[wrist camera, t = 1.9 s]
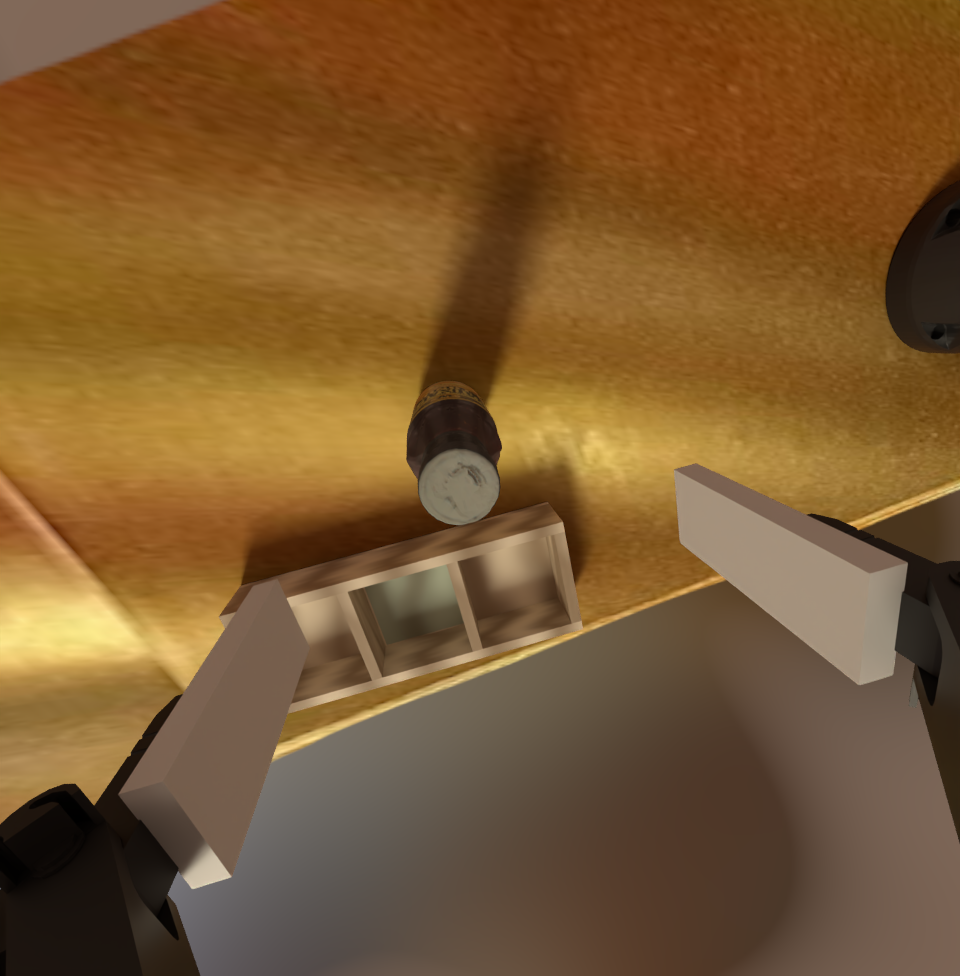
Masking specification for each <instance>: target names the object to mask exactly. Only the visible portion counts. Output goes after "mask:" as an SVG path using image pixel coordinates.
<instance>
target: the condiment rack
mask: <svg viewBox="0 0 960 976" xmlns="http://www.w3.org/2000/svg"><path fill="white" fill-rule="evenodd" d="M276 579H278V581H279V583H280V586H281V588H282V590H283V592H284V594H285V596H286V598H287V600H288V602H289V605H290V607H291V609H292V611H293V613H294V615H295V617H296V619H297V622H298V624H299V626H300V628H301V630H302V632H303V634H304V636H305V639H306V641H307V643H308V645H309V647H310V649H309V652H308V655H307V658H306V660H305V663H304V666H303V669H302V672H301V675H300V678H299V681H298V684H297V687H296V690H295V693H294V696H293V699H292V702H291V705H290V707H289V710H288V713H291V712H295V711H298V710H302V709H305V708H309V707H312V706H316V705H319V704H323V703H326V702H330V701H333V700H337V699H340V698H344V697H347V696H351V695H354V694H358V693H361V692H365V691H368V690H372V689H375V688H379V687H382V686H386V685H389V684H393V683H396V682H400V681H403V680H407V679H410V678H414V677H417V676H421V675H424V674H428V673H431V672H435V671H438V670H442V669H445V668H449V667H452V666H456V665H459V664H463V663H466V662H470V661H473V660H476V659H480V658H483V657H487V656H490V655H494V654H497V653H501V652H504V651H508V650H511V649H515V648H518V647H522V646H525V645H529V644H532V643H536V642H539V641H543V640H546V639H550V638H553V637H557V636H560V635H564V634H567V633H571V632H574V631H578V630H581V629H583V626H582V621H581V616H580V610H579V605H578V600H577V594H576V589H575V584H574V578H573V573H572V568H571V562H570V557H569V551H568V546H567V541H566V535H565V530H564V525H563V521H562V520H561V519H560V517H559V516H558V515H557V513H556V512H555V511H554V509H553V508H552V507H551V505H550V504H549V503H548V502H545V503H541V504H537V505H534V506H530V507H527V508H523V509H519V510H516V511H512V512H508V513H505V514H501V515H497V516H494V517H490V518H486V519H483V520H479V521H475V522H472V523H468V524H464V525H461V526H457V527H453V528H450V529H446V530H442V531H439V532H435V533H431V534H428V535H424V536H420V537H417V538H413V539H409V540H406V541H402V542H398V543H395V544H391V545H387V546H384V547H380V548H377V549H373V550H369V551H366V552H362V553H358V554H355V555H351V556H347V557H344V558H340V559H336V560H333V561H329V562H325V563H322V564H318V565H314V566H311V567H307V568H303V569H300V570H296V571H292V572H289V573H285V574H281V575H278V576H274V577H270V578H267V579H263V580H259V581H256V582H252V583H248V584H245V585H241V586H240V587H239V589H238V590H237V592H236V593H235V595H234V596H233V597H232V599H231V600H230V602H229V603H228V604H227V606H226V607H225V609H224V610H223V611H222V613H221V614H220V616H219V618H220V620H221V622H222V624H223V625H224V627H225V629H226V627H227V625H228V624H229V622H230V621H231V619H232V618H233V616H234V615H235V613H236V612H237V610H238V609H239V607H240V605H241V604H242V602H243V601H244V599H245V598H246V596H247V595H248V593H249V592H250V590H251V588H252V587H253V586H254V585H258V584H261V583H265V582H269V581H272V580H276ZM288 713H287V714H288Z"/></svg>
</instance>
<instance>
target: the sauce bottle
mask: <svg viewBox="0 0 960 976" xmlns="http://www.w3.org/2000/svg"><path fill="white" fill-rule="evenodd" d="M501 449H502V445H501V441H500V438H499V436H498V433H497V428H496V425H495V422H494V420H493V418H492V417H491V415H490V413H489V411H488V410H487V408H486V407H485V405H484V403H483V401H482V400H481V398H480V397H479V395H478V394H477V393H476V392H475V391H474V390H473V389H472V388H471V387H469V386H467V385H466V384H463V383H461V382H457V381H441V382H438V383H435V384H433V385H431V386H429V387H428V388H426V389H425V390H424V391H423V392H422V393H421V395H420V396H419V398H418V400H417V401H416V404H415V407H414V410H413V414H412V418H411V422H410V425H409V429H408V433H407V458H406V459H407V463H408V464H409V466H410V468H411V469H412V471H413V473H414V474H415V476H416V477H417V479H418V494H419V497H420V500H421V502H422V504H423V506H424V508H425V509H426V510H427V512H428V513H429V514H431V515H432V516H433V517H435V518H436V519H437V520H439V521H442V522H444V523H447V524H453V525H464V524H468V523H471V522H475V521H478V520H480V519H481V518H483V517H484V516H486V515H487V514H488V513H489V512H490V511H491V509H492V507H493V506H494V505H495V503H496V500H497V498H498V497H499V492H500V477H499V474H498V471H497V466H496V465H497V462H498V460H499V457H500V451H501Z"/></svg>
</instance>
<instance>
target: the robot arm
mask: <svg viewBox="0 0 960 976" xmlns="http://www.w3.org/2000/svg"><path fill="white" fill-rule="evenodd" d="M886 306H887V313H888V317H889V320H890V323H891V325H892V328H893V329H894V331H895V333H896V334H897V336H898V337H899V338H900V339H901V340H902V341H903V342H904V343H905V344H907V345H908V346H910V347H911V348H913V349H916V350H918V351H922V352H928V353H954V354H955V353H960V180H959V181H957V182H955V183H954V184H952V185H950V186H949V187H947V188H946V189H944V190H943V191H941V192H940V193H939V194H938V195H936V196H935V197H934V198H933V199H932V200H931V201H930V202H929V203H928V204H927V205H926V206H925V207H924V208H923V209H922V210H921V211H920V212H919V214H918V215H917V216H916V217H915V219H914V220H913V221H912V223H911V224H910V226H909V227H908V229H907V230H906V232H905V234H904V235H903V237H902V239H901V241H900V243H899V245H898V247H897V249H896V252H895V254H894V257H893V260H892V263H891V266H890V270H889V274H888V279H887V287H886ZM674 475H675V487H676V500H677V512H678V524H679V536H680V543H681V544H682V545H684V546H685V547H686V548H687V549H689V550H690V551H691V552H692V553H694V554H695V555H696V556H697V557H699V558H700V559H701V560H702V561H704V562H705V563H706V564H707V565H709V566H710V567H711V568H712V569H714V570H715V571H716V572H717V573H719V574H720V575H721V576H722V577H724V578H725V579H726V580H728V581H729V582H730V583H731V584H733V585H734V586H735V587H736V588H738V589H739V590H740V591H741V592H743V593H744V594H745V595H746V596H748V597H749V598H750V599H751V600H753V601H754V602H755V603H756V604H758V605H759V606H760V607H761V608H763V609H764V610H765V611H766V612H768V613H769V614H770V615H771V616H773V617H774V618H775V619H776V620H778V621H779V622H780V623H781V624H783V625H784V626H785V627H786V628H788V629H789V630H790V631H791V632H793V633H794V634H795V635H797V636H798V637H799V638H800V639H802V640H803V641H804V642H805V643H806V644H808V645H809V646H810V647H811V648H813V649H814V650H815V651H816V652H818V653H819V654H820V655H821V656H823V657H824V658H825V659H826V660H828V661H829V662H830V663H831V664H833V665H834V666H835V667H837V668H838V669H839V670H840V671H842V672H843V673H844V674H845V675H846V676H848V677H849V678H850V679H852V680H853V681H854V682H855V683H857V684H858V685H862V684H865V683H868V682H872V681H875V680H878V679H881V678H885V677H888V676H891V675H893V671H894V664H895V656H896V651H897V652H898V653H900V654H901V655H903V656H904V657H906V658H907V659H909V660H910V661H912V662H913V663H915V667H914V673H913V680H912V686H911V693H910V700H909V706H910V707H915V708H916V707H917V701H918V699H919V701H920V704H921V708H922V711H923V715H924V718H925V722H926V725H927V729H928V732H929V736H930V739H931V743H932V746H933V750H934V754H935V757H936V761H937V764H938V768H939V771H940V775H941V778H942V782H943V786H944V789H945V793H946V796H947V800H948V803H949V807H950V810H951V814H952V817H953V821H954V825H955V828H956V832H957V835H958V839H959V842H960V561H949V562H944V563H939V564H936V563H934V562H932V561H929V560H927V559H925V558H923V557H921V556H918V555H916V554H914V553H912V552H909V551H907V550H905V549H903V548H900V547H898V546H896V545H893V544H891V543H889V542H887V541H885V540H882V539H880V538H874V536H873V535H871V534H869V533H866V532H864V531H862V530H859V531H858V530H857V528H855V527H853V526H851V525H849V524H846V523H844V522H842V521H840V520H837V519H834V518H829V517H825V516H821V515H816V514H812V513H811V514H808V515H805V514H803V513H801V512H799V511H797V510H795V509H792V508H790V507H788V506H786V505H784V504H782V503H780V502H777V501H775V500H773V499H771V498H769V497H767V496H765V495H763V494H760V493H758V492H756V491H754V490H752V489H750V488H748V487H745V486H743V485H741V484H739V483H737V482H735V481H733V480H730V479H728V478H726V477H724V476H722V475H720V474H718V473H716V472H713V471H711V470H709V469H707V468H705V467H703V466H701V465H698V464H692V465H689V466H685V467H681V468H678V469H674ZM309 649H310V647H309V645H308V643H307V641H306V639H305V636H304V634H303V632H302V630H301V628H300V626H299V624H298V622H297V619H296V617H295V615H294V613H293V611H292V609H291V607H290V605H289V602H288V600H287V598H286V596H285V594H284V592H283V590H282V588H281V586H280V583H279V581H278V579H276V580H272V581H269V582H265V583H261V584H258V585H254V586H253V587H252V588H251V590H250V592H249V593H248V595H247V596H246V598H245V599H244V601H243V602H242V604H241V605H240V607H239V609H238V610H237V612H236V613H235V615H234V616H233V618H232V619H231V621H230V622H229V624H228V625H227V627H226V629H225V630H224V632H223V633H222V635H221V636H220V638H219V639H218V641H217V642H216V644H215V646H214V647H213V649H212V650H211V652H210V653H209V655H208V656H207V658H206V659H205V661H204V663H203V664H202V666H201V667H200V669H199V670H198V672H197V673H196V675H195V676H194V678H193V680H192V681H191V683H190V684H189V686H188V687H187V689H186V690H185V692H184V693H183V694H182V695H178V696H176V697H174V698H173V699H172V700H171V701H170V702H169V703H168V704H167V705H166V706H165V707H164V708H163V709H162V710H161V711H160V712H159V713H158V714H157V715H156V716H155V718H154V719H153V721H152V722H151V723H150V725H149V726H148V728H147V729H146V731H145V732H144V734H143V735H142V739H140V740H139V741H138V742H137V744H136V745H135V747H134V748H133V750H132V751H131V756H129V757H127V759H126V760H125V762H124V763H123V764H122V766H121V767H120V769H119V770H118V772H117V773H116V775H115V776H114V778H113V779H112V781H111V782H110V784H109V785H108V786H107V788H106V789H105V791H104V792H103V794H102V795H101V797H100V798H99V800H98V801H97V803H96V804H95V806H94V805H93V804H92V803H91V802H90V800H89V799H88V798H87V797H86V796H85V794H84V793H83V792H82V791H81V790H80V788H79V787H78V786H77V785H76V784H63V785H60V786H57V787H54V788H52V789H49V790H47V791H45V792H43V793H42V794H40V795H38V796H37V797H35V798H33V799H31V800H30V801H28V802H27V803H26V804H24V805H23V806H22V807H20V808H19V809H18V810H16V811H15V812H14V813H12V814H11V815H10V816H9V817H8V818H7V819H5V820H4V821H3V822H2V823H1V824H0V888H1V889H0V976H200V973H199V970H198V967H197V965H196V962H195V959H194V956H193V953H192V950H191V947H190V944H189V941H188V939H187V936H186V933H185V930H184V927H183V924H182V921H181V918H180V915H179V912H178V910H177V907H176V905H175V903H174V902H173V901H172V900H171V898H170V897H169V896H168V895H167V894H168V892H169V890H170V887H171V885H172V883H173V880H174V878H175V876H176V874H177V872H178V871H179V873H180V874H181V875H182V876H183V878H184V879H185V880H186V882H187V883H188V884H189V885H190V887H191V888H192V889H194V888H197V887H201V886H204V885H208V884H211V883H214V882H217V881H221V880H224V879H227V878H230V877H232V875H233V872H234V869H235V866H236V863H237V860H238V857H239V854H240V851H241V848H242V846H243V843H244V840H245V837H246V834H247V831H248V828H249V825H250V822H251V819H252V816H253V813H254V810H255V807H256V804H257V801H258V799H259V796H260V793H261V790H262V787H263V784H264V781H265V778H266V775H267V772H268V769H269V766H270V763H271V760H272V757H273V754H274V752H275V749H276V746H277V743H278V740H279V737H280V734H281V731H282V728H283V725H284V722H285V719H286V716H287V713H288V710H289V707H290V705H291V702H292V699H293V696H294V693H295V690H296V687H297V684H298V681H299V678H300V675H301V672H302V669H303V666H304V663H305V660H306V658H307V655H308V652H309Z"/></svg>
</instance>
